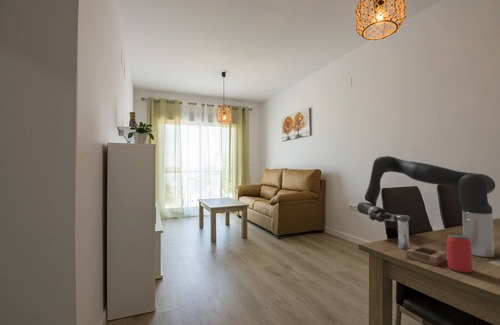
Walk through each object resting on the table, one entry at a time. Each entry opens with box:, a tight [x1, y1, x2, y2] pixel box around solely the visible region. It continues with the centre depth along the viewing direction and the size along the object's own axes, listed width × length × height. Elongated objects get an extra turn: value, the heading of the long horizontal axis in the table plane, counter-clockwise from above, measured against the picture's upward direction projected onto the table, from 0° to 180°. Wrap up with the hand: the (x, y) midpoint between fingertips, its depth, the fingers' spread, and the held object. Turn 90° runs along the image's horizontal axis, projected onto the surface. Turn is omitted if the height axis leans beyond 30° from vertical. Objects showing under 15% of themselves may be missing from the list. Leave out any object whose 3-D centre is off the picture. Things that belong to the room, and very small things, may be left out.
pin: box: [396, 214, 411, 251], centre depth 108 cm, size 5×5×14 cm
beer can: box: [446, 233, 473, 274], centre depth 85 cm, size 7×7×12 cm
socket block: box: [405, 245, 447, 267], centre depth 95 cm, size 10×10×3 cm
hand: (390, 220), depth 119 cm, fingers open, 8 cm apart
